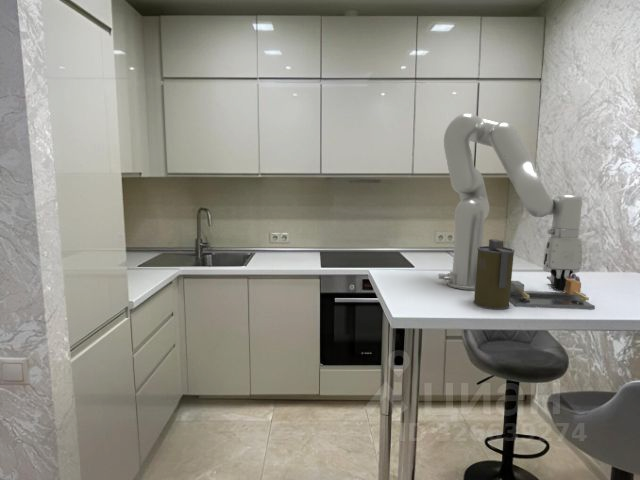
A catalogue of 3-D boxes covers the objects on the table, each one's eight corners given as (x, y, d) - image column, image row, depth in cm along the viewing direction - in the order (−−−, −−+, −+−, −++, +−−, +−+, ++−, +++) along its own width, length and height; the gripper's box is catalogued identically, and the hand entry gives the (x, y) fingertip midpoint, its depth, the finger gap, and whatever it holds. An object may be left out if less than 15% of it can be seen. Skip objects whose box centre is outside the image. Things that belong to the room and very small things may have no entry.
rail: (508, 298, 138) (509, 292, 138) (506, 296, 140) (506, 290, 140) (585, 300, 136) (586, 294, 136) (581, 298, 139) (582, 292, 139)
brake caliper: (592, 287, 144) (571, 258, 144) (561, 304, 147) (541, 275, 148) (582, 280, 154) (562, 253, 155) (554, 295, 158) (534, 269, 159)
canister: (467, 299, 136) (472, 237, 133) (499, 299, 137) (504, 237, 133) (483, 310, 125) (488, 243, 122) (517, 310, 126) (523, 243, 123)
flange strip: (516, 306, 129) (516, 302, 129) (508, 300, 135) (509, 297, 135) (594, 309, 128) (595, 305, 128) (583, 303, 134) (584, 299, 134)
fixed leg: (522, 301, 130) (523, 290, 129) (508, 291, 141) (508, 280, 141) (532, 302, 129) (533, 290, 129) (517, 291, 141) (518, 280, 141)
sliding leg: (581, 303, 128) (583, 288, 128) (561, 292, 140) (563, 278, 140) (591, 304, 128) (593, 288, 128) (571, 293, 140) (572, 278, 139)
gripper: (545, 234, 132) (540, 292, 134) (596, 235, 131) (589, 293, 133) (535, 231, 139) (530, 285, 142) (582, 232, 138) (576, 287, 141)
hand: (559, 289), depth 138 cm, fingers closed
